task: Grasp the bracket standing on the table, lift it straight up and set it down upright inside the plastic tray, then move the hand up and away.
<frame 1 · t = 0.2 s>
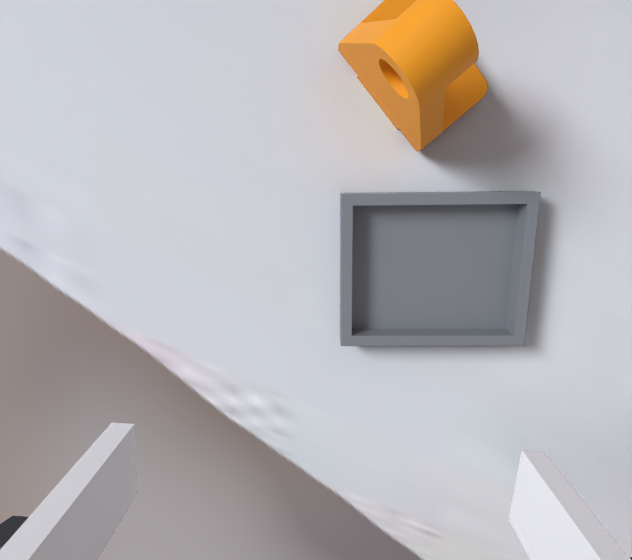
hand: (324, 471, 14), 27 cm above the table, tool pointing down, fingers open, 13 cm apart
tray: (429, 267, 41), on the table
bracket: (409, 75, 37), on the table
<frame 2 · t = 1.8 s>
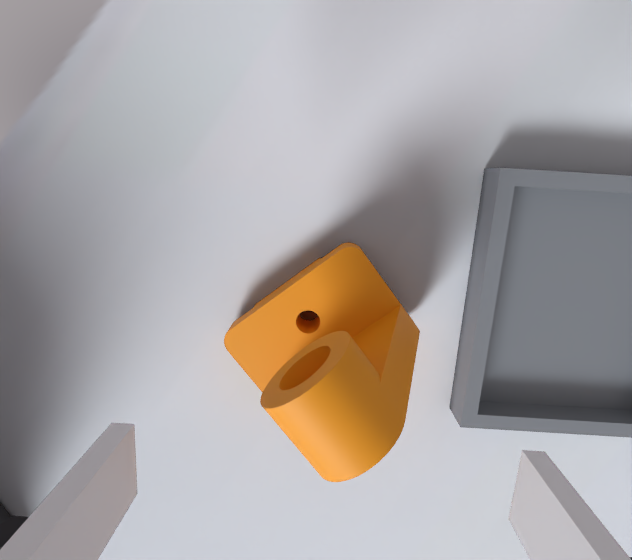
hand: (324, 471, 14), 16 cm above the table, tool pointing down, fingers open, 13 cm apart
tray: (567, 302, 29), on the table
bracket: (318, 320, 30), on the table
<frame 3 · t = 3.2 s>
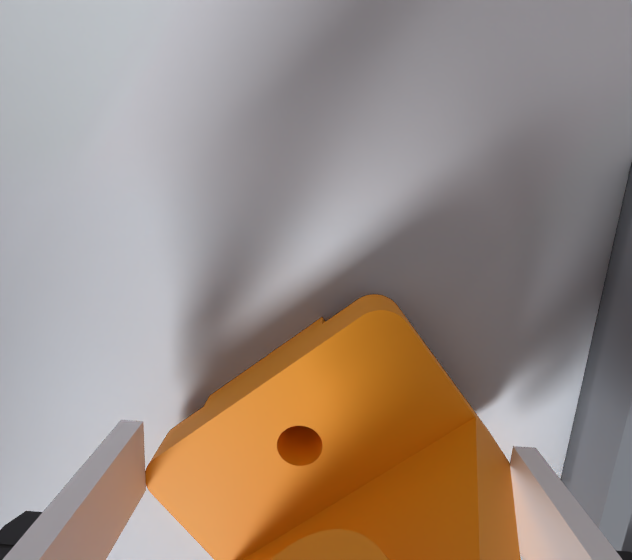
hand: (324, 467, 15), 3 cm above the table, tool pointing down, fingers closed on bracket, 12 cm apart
bracket: (319, 421, 17), on the table, touching gripper
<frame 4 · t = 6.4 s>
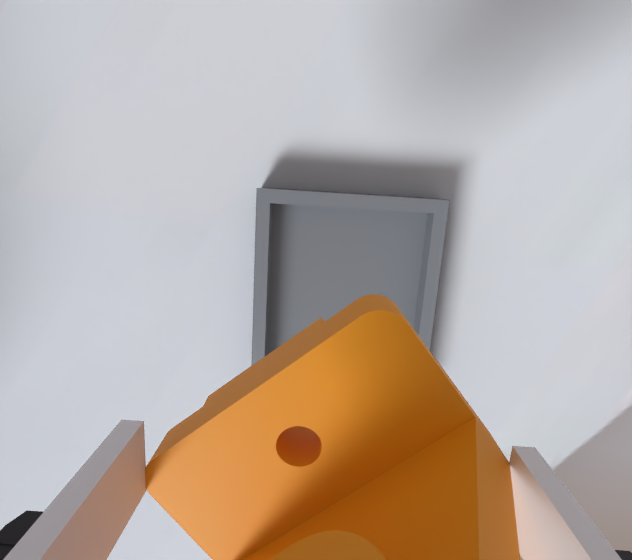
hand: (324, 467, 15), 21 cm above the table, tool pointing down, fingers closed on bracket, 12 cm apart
tray: (342, 297, 35), on the table
bracket: (319, 422, 17), point 18 cm above the table, touching gripper
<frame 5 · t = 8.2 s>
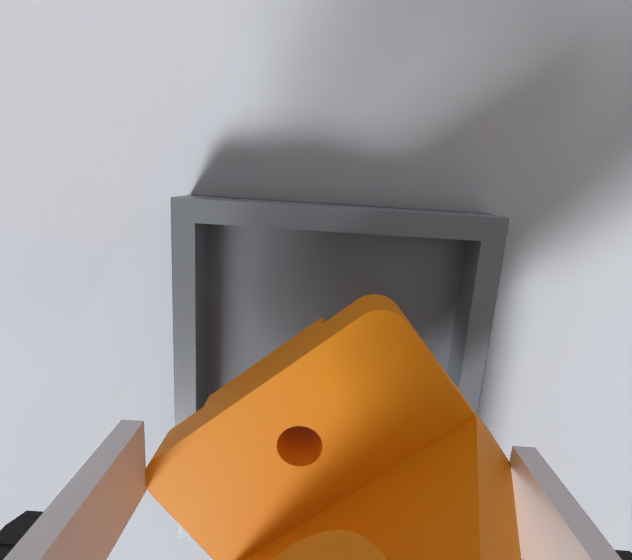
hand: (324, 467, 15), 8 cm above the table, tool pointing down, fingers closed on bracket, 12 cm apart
tray: (325, 370, 22), on the table
bracket: (319, 422, 17), point 5 cm above the table, touching gripper
when the fingers open (5 cm above the table, at t = 9.5 s): bracket stays where it is, resting on tray.
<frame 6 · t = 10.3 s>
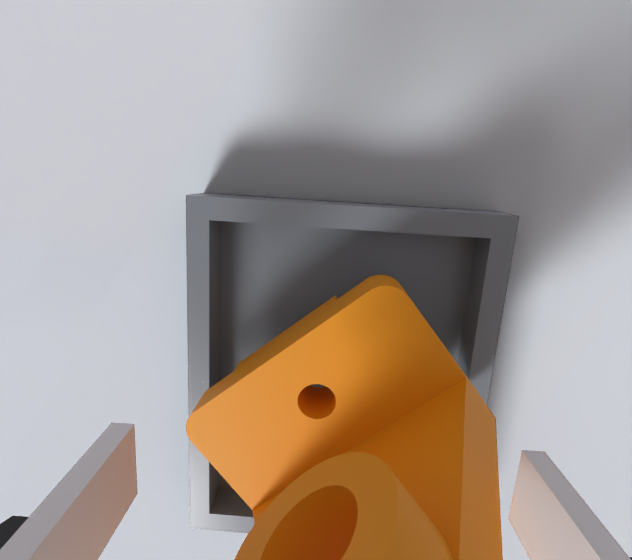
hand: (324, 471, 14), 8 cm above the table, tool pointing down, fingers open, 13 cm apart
tray: (336, 366, 22), on the table
bracket: (332, 387, 20), point 2 cm above the table, touching tray
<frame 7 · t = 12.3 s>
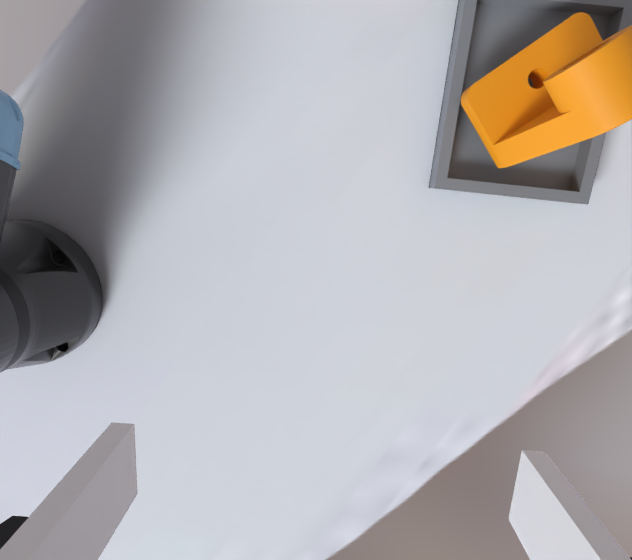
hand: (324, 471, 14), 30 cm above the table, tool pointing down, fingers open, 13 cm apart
tray: (519, 102, 39), on the table
bracket: (528, 97, 37), point 2 cm above the table, touching tray
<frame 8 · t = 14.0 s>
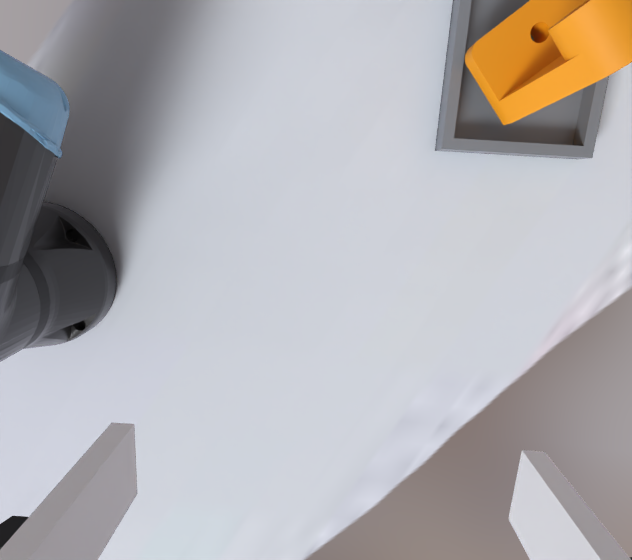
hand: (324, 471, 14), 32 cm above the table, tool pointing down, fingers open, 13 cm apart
tray: (520, 61, 40), on the table
bracket: (530, 54, 38), point 2 cm above the table, touching tray
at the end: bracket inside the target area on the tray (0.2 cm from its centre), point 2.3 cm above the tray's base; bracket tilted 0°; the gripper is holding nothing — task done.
